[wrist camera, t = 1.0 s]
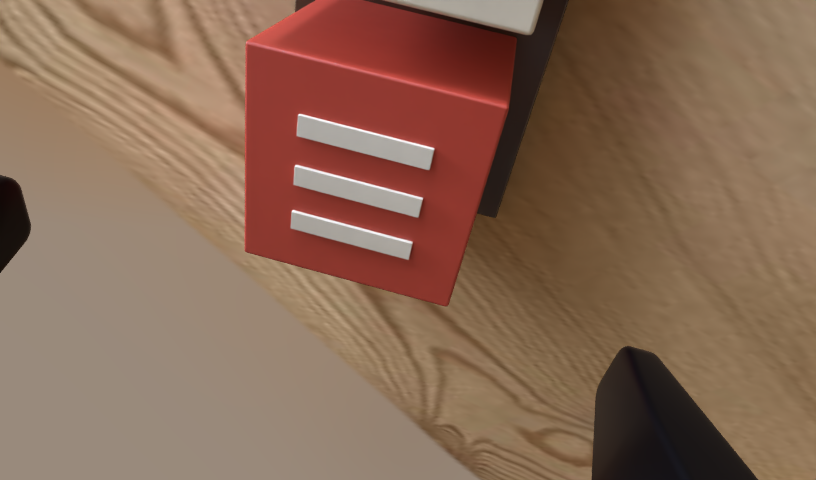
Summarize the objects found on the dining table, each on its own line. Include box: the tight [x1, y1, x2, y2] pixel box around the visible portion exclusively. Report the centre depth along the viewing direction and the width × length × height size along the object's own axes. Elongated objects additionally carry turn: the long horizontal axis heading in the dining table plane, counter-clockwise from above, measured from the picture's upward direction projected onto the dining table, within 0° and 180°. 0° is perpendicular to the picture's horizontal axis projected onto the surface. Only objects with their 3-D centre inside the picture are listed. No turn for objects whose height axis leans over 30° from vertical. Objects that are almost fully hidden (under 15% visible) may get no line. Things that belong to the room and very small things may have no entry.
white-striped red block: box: [245, 0, 517, 306], centre depth 12 cm, size 4×4×4 cm
